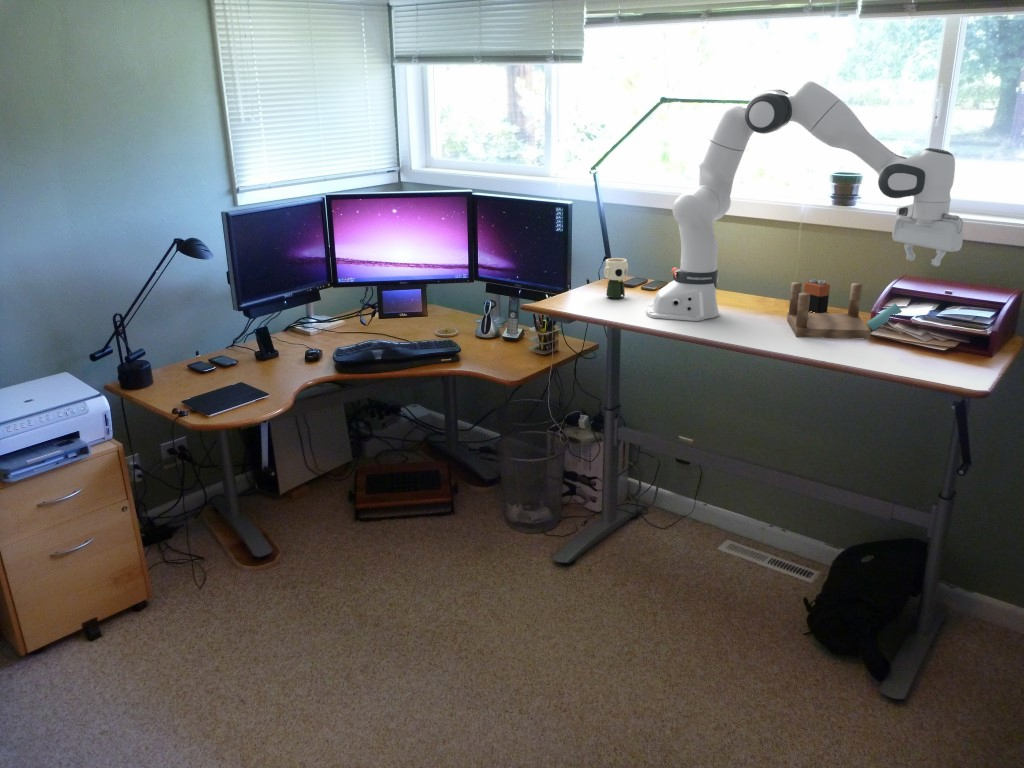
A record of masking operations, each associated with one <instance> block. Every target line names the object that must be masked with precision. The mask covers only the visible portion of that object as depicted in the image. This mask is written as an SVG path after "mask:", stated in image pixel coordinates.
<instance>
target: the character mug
mask: <svg viewBox="0 0 1024 768" xmlns="http://www.w3.org/2000/svg"><path fill="white" fill-rule="evenodd" d="M628 272H629V264H628V259H626V258H620V257H612V258H607V259H605V267H604V269H603V276H604V277H605V278H606V279H607V280H608V282H607V287H606V294H605V296H607V297H609V298H611V299H621V298H622V297H623V298H624V297H625V296H626V295H625V283H624V280H625V279H627V276H628Z"/></svg>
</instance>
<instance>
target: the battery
mask: <svg viewBox="0 0 1024 768" xmlns="http://www.w3.org/2000/svg"><path fill="white" fill-rule="evenodd" d="M830 284H831V283H826V281H825V280H818V281H817V280H816V279H814V278H811V279H810V280H809V281H805V282H804V284H803V292H802V293H809V294H810V302H809V311H812V312H815V313H822V312H825V313H828V306H829V300H830V299H829V297H830V289H831V285H830ZM812 312H811V313H812Z"/></svg>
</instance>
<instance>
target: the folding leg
mask: <svg viewBox="0 0 1024 768" xmlns="http://www.w3.org/2000/svg"><path fill="white" fill-rule="evenodd" d="M902 312H903V311H902V310H901V308H900V307H899V306H898V304H897V303H893V304H891V305H890V306H889V307H887V308H886V309H884V310H883V311H881V312H880V313H878V314H879V315H878V314H876V315H875V316H874V317H872V318H871V319H870V320H868V321H866V323H865V324H866V325H867V326H868V327H869V329H870V330H871V331H872V332H874V331H875V330H877V329H879V328H881V327H882V326H883V325H884V324H886V323H887V322H889V321H890V320H889V317H890V315H893V314H894V315H895V314H898V313H899V314H901V313H902ZM899 314H898V315H899ZM888 320H889V321H888Z"/></svg>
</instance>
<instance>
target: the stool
mask: <svg viewBox="0 0 1024 768" xmlns="http://www.w3.org/2000/svg"><path fill="white" fill-rule="evenodd" d="M850 285H851V286H850V293H849V294H850V295H849V303H848V310H847V313H836V312H835V313H833V312H832V313H831V312H830V313H829V312H825V313H812V312H808V311H809V302H810V294H809V293H803V292H802V291H803V290H802V288H803V283H802V282H799V281H793V282H791V285H790V286H791V287H790V295H789V296H790V297H789V306H788V307H789V308H788V311H787V316H786V320H787V323H788V325H789V326H790V328H791V330H792V332H793V335H795V338H817V339H818V338H821V339H822V337H824V339H828V338H829V339H852V338H864V339H863V340H868V339H867V338H870V339H871V334H872V329H871V328H870V327H869V325H868V324H867V323H865V322H864V320H863V319H862V318H861V317H860V316H859V315H860V309H861V308H860V307H861V300H862V291H863V283H860V282H859V283H858V282H853V283H851V284H850Z"/></svg>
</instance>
